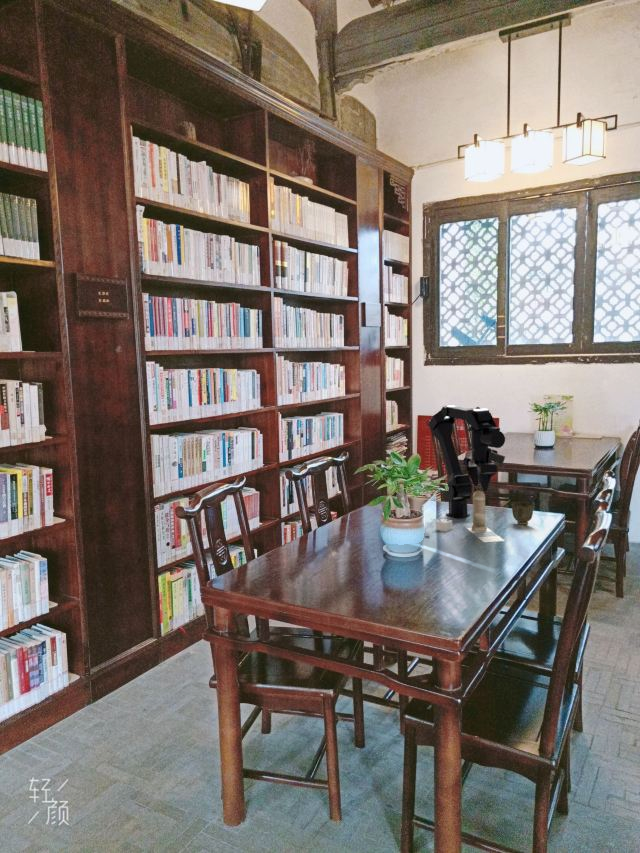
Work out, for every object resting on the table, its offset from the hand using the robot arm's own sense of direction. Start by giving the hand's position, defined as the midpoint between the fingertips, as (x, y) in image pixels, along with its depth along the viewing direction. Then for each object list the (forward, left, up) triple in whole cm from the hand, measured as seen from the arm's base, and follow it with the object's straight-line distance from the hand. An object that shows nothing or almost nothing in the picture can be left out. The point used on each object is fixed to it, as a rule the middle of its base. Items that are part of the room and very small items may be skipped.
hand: (480, 488), depth 214 cm
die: (-2, -16, -13) cm, 21 cm away
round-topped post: (+6, -8, -12) cm, 16 cm away
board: (+9, -9, -13) cm, 18 cm away
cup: (+10, +10, -13) cm, 19 cm away
